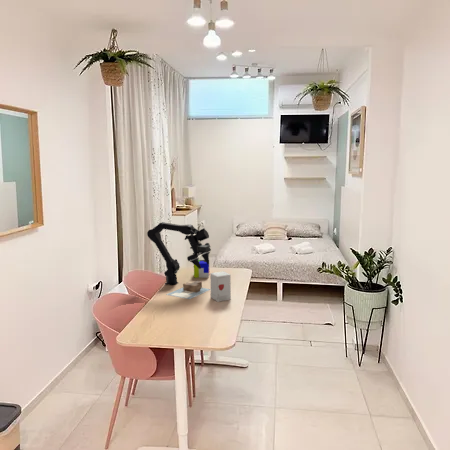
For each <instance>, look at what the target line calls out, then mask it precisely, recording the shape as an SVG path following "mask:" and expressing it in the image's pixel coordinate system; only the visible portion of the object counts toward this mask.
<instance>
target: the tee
mask: <svg viewBox="0 0 450 450" xmlns="http://www.w3.org/2000/svg"><path fill="white" fill-rule="evenodd" d="M182 288H183V290H185V291H190V292H196V293H197V292H199V291H200V288H203V282H202V281H200V280H195V281H192V282H189V281H188V282H185V283H183V284H182Z"/></svg>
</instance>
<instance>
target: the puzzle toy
mask: <svg viewBox="0 0 450 450" xmlns="http://www.w3.org/2000/svg"><path fill="white" fill-rule="evenodd" d="M198 261H199V263H200V266H201V269H199V268H198V267H197V266H196V265H195V264H193V277H194V278H195V279H196V278H197V279H198V278H200V279H201V278H210V263H209V264H207V263H206V261H205V260H204V259H199V260H198Z"/></svg>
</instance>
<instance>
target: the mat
mask: <svg viewBox="0 0 450 450" xmlns="http://www.w3.org/2000/svg"><path fill="white" fill-rule="evenodd" d="M209 291H211V288H206V287H202V288H200V291H199V292H197V293H196V292H190V291H185V290H183V287H181V288H177V289H176V290H173V291H171V292H169V293H166V296H172V297H176V298H180V299H181V298H182V299H187V300H192V299H193V298H196V297H198V296H200V295H201V294H204V293H206V292H209Z"/></svg>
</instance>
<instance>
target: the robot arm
mask: <svg viewBox="0 0 450 450" xmlns="http://www.w3.org/2000/svg"><path fill="white" fill-rule="evenodd" d="M163 230H167V231H173V232H179V233H181V234H183V235H185V236H184V237H185V238H184V240H185V241H187V240H188V243H189V245H190V247H189V249H190V250H192V251H193V253H192V254H191V255H189V256H187V261H188V262H190V263H192V264H193V265H194V264H195V265H196V266H197V267H198V268H199V269H201V266H200V263H199V261H198V260H200V258H199V256H201V257H202V258H203V260H205V261H206V263H207V264H209V265H210V258H209V255H210V253H211V251H212V249H211V245H210V243H209V242H206V243H205V244H202V241H205V240H207V239H209V238H210V235H209V232H208V230H207V229H206V228H205V227H203V228H201V229H197V228H195V226H194V225H193V224H175V223H171V222H170V223H169V222H164V221H162V222H159V223H158V224H157V225H156V226H155V227H153V228H151V229H149V230H148V231H147V233H146V236H147V237H148V239H150V241H151V242H153V243H154V244H155V246H156V248H157V249H158V250H159V253H160V254H161V256H162V258H163V260H164V261H165V265H166V266H165V267H166V270H165V272H164V276H165V280H166V281H165V283H164V285H169V286H174V285H177V284H179V282H178V276H177V273H178V271H179V270H180V268H181V267H180V263H179V261H178V259H174V258H173V257H172V256H171V254H170V252H169V250H168V249H167V247H166V245H165V243H164V241H163V240H162V235H161V233H162V231H163ZM199 241H200V242H199Z"/></svg>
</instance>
